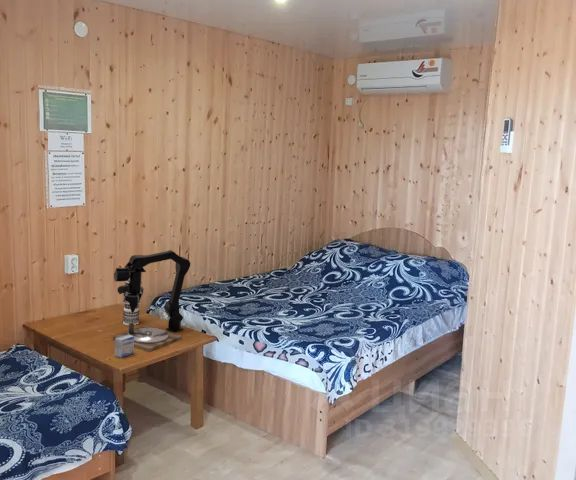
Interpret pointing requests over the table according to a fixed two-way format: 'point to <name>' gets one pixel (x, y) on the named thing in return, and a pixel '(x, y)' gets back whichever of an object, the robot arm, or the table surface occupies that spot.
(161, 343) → the walnut stand
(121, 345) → the medicine box
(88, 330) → the table surface
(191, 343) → the table surface
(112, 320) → the table surface
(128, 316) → the decorative candle
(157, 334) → the dial
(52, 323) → the table surface
